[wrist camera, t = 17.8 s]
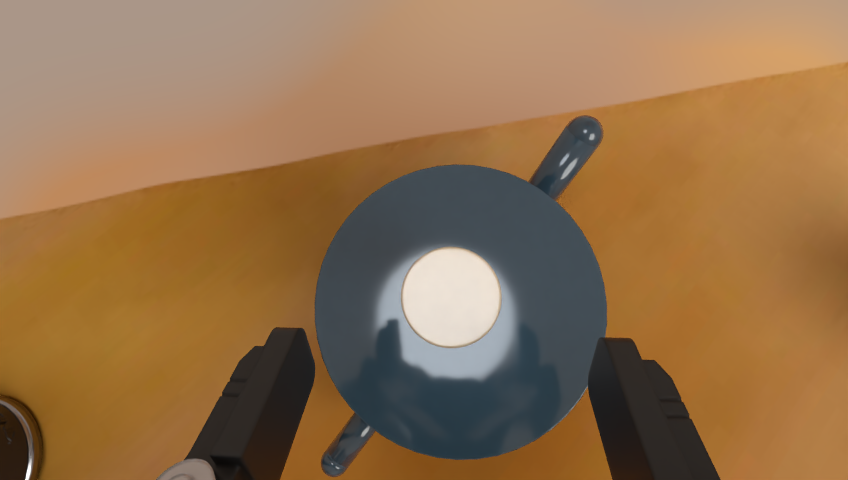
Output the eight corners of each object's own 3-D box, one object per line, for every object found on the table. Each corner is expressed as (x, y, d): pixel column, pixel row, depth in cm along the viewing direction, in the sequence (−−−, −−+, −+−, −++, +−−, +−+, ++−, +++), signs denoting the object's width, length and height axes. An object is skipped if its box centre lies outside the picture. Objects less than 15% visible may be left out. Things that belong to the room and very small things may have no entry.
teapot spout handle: (367, 449, 26) (332, 499, 19) (343, 428, 27) (300, 469, 20) (578, 170, 28) (616, 122, 21) (553, 153, 28) (583, 101, 21)
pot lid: (485, 518, 19) (505, 708, 10) (268, 327, 21) (124, 337, 12) (657, 278, 20) (818, 249, 11) (432, 123, 22) (410, -6, 13)
